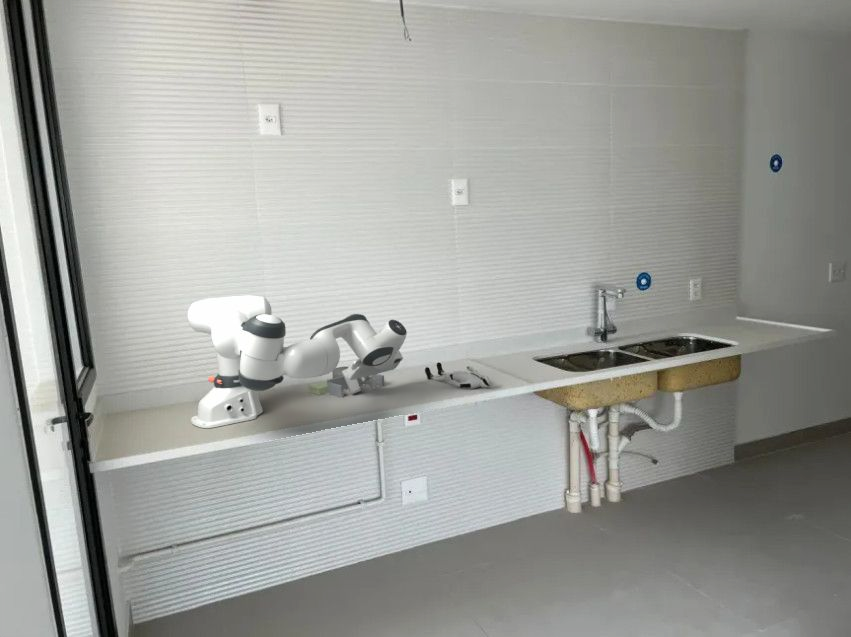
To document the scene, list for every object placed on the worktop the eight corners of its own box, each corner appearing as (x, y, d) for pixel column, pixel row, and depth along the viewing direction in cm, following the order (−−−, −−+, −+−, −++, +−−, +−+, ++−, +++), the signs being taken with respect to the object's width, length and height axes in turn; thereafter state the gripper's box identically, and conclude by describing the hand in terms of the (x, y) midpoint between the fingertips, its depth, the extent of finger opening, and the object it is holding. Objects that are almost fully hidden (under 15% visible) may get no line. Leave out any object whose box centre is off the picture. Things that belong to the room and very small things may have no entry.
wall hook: (381, 387, 222) (371, 362, 220) (354, 400, 220) (344, 374, 218) (377, 383, 230) (367, 359, 228) (351, 395, 228) (341, 370, 226)
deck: (333, 399, 216) (331, 381, 215) (308, 391, 229) (307, 374, 228) (391, 384, 233) (390, 367, 232) (366, 377, 246) (364, 361, 245)
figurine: (444, 359, 243) (500, 367, 220) (447, 374, 244) (503, 384, 221) (418, 370, 235) (474, 379, 212) (421, 385, 236) (477, 396, 213)
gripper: (359, 369, 206) (345, 392, 215) (407, 357, 219) (391, 380, 228) (350, 354, 209) (336, 378, 218) (398, 343, 222) (383, 366, 231)
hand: (365, 379), depth 223 cm, fingers closed, pressing on wall hook
